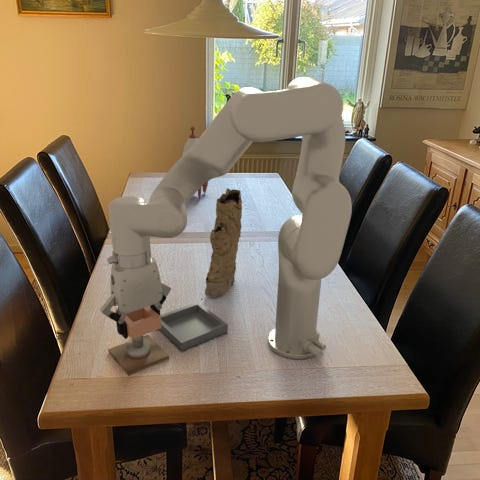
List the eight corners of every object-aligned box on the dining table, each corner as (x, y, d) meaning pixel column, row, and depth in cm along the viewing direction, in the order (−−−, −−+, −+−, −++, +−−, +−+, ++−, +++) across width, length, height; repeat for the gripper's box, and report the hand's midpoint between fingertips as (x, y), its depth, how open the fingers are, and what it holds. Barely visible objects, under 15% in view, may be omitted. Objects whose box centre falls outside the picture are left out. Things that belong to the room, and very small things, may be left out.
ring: (161, 327, 108) (160, 316, 106) (132, 339, 104) (130, 327, 103) (146, 314, 113) (145, 302, 112) (117, 324, 109) (116, 313, 108)
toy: (177, 197, 214) (175, 127, 202) (186, 190, 223) (185, 123, 211) (201, 200, 211) (200, 129, 199) (209, 193, 220) (209, 125, 208)
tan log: (203, 282, 144) (202, 183, 132) (238, 281, 145) (241, 183, 133) (206, 307, 131) (205, 200, 119) (244, 305, 132) (248, 199, 121)
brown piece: (169, 359, 110) (168, 332, 108) (128, 376, 105) (125, 348, 102) (148, 337, 118) (146, 312, 115) (108, 352, 112) (106, 326, 109)
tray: (227, 333, 120) (227, 324, 119) (181, 352, 113) (181, 342, 112) (198, 310, 130) (198, 301, 129) (154, 326, 122) (153, 317, 121)
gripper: (99, 275, 94) (109, 352, 101) (178, 251, 104) (182, 323, 111) (84, 261, 99) (95, 335, 107) (161, 240, 109) (166, 309, 116)
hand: (139, 329), depth 109 cm, fingers closed on ring, 7 cm apart
